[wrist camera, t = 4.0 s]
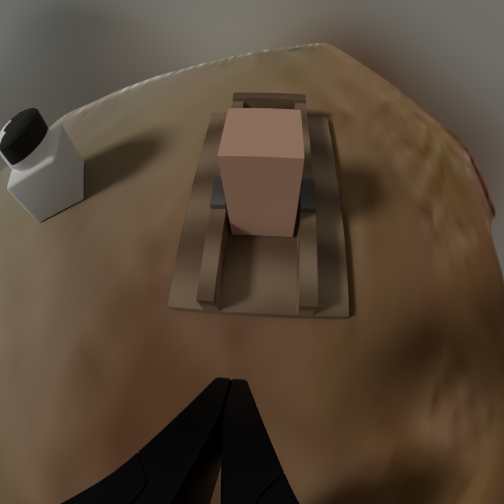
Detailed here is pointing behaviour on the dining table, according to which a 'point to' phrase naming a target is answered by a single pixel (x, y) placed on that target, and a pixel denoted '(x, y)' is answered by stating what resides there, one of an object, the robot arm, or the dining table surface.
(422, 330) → the dining table surface
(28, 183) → the medicine bottle
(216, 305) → the walnut chute
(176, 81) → the dining table surface
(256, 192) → the terracotta block
